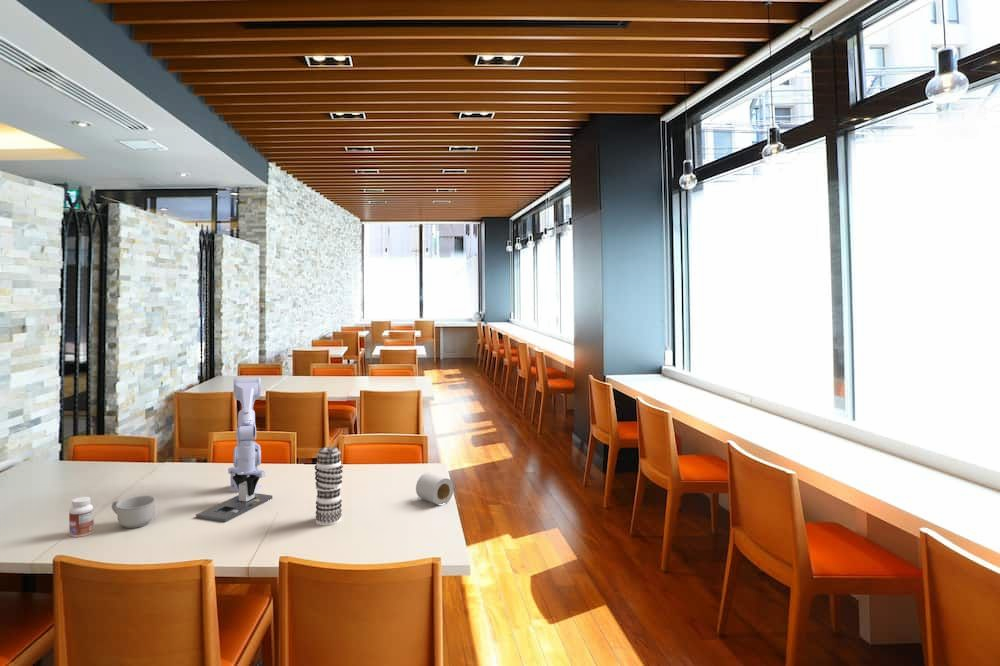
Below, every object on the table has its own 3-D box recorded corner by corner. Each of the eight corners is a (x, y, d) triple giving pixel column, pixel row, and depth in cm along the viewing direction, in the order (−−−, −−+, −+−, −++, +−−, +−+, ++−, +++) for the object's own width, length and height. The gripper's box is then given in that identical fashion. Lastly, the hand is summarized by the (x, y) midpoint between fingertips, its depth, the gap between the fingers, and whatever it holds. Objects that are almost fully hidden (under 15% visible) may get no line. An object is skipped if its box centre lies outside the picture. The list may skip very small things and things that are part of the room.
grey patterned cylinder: (327, 528, 188) (327, 453, 187) (308, 521, 193) (308, 449, 192) (348, 519, 196) (348, 447, 195) (329, 513, 201) (330, 443, 200)
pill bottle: (67, 533, 180) (66, 499, 179) (90, 528, 185) (89, 494, 184) (72, 539, 176) (71, 504, 175) (96, 533, 181) (95, 499, 180)
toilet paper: (453, 501, 216) (453, 475, 215) (433, 508, 208) (433, 481, 208) (436, 495, 222) (436, 469, 222) (415, 501, 215) (416, 475, 214)
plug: (238, 500, 207) (238, 481, 207) (247, 496, 212) (247, 478, 211) (246, 501, 206) (246, 482, 206) (254, 497, 211) (254, 479, 210)
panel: (196, 518, 194) (195, 513, 194) (245, 495, 217) (245, 491, 217) (225, 523, 191) (225, 518, 191) (272, 499, 214) (272, 494, 214)
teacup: (163, 521, 191) (162, 497, 191) (132, 533, 181) (132, 508, 181) (132, 515, 196) (132, 492, 196) (101, 526, 186) (101, 502, 185)
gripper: (221, 458, 206) (222, 495, 207) (255, 462, 202) (256, 500, 203) (235, 453, 213) (236, 489, 214) (269, 457, 209) (269, 493, 210)
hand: (246, 494), depth 209 cm, fingers closed on plug, 3 cm apart
